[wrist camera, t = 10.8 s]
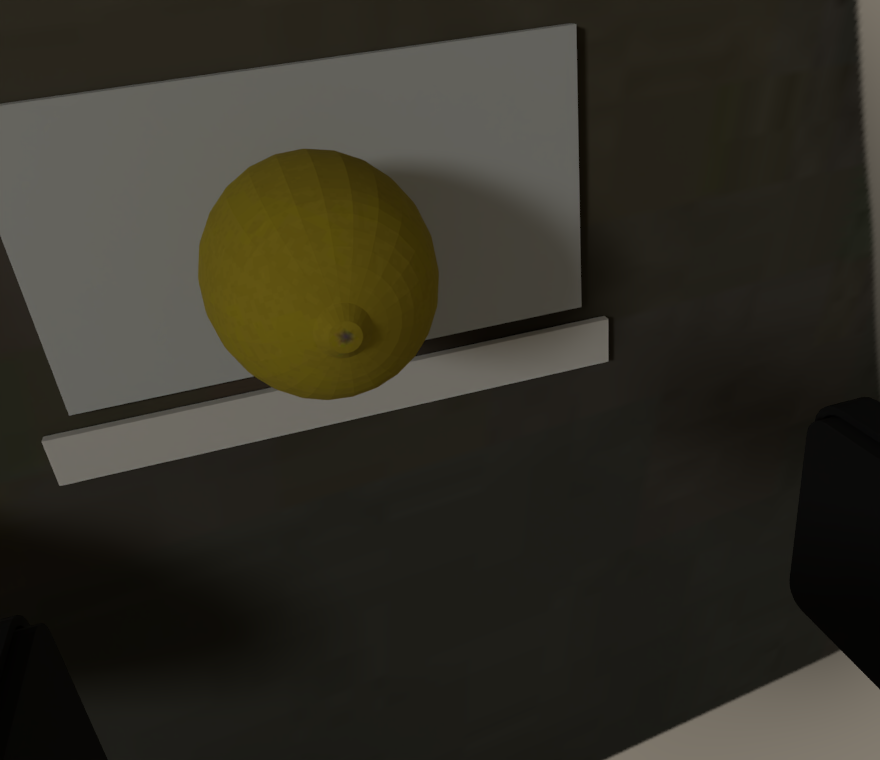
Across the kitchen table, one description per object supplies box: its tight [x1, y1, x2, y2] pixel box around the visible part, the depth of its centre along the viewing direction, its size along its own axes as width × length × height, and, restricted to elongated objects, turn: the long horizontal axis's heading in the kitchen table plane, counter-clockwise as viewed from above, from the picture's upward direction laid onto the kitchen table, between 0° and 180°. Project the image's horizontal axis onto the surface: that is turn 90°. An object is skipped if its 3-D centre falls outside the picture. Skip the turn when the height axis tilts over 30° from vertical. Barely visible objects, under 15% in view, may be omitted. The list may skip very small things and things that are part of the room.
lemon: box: [198, 149, 439, 400], centre depth 19 cm, size 6×6×8 cm
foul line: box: [42, 316, 608, 486], centre depth 26 cm, size 2×18×1 cm, turn 95°
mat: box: [0, 23, 582, 415], centre depth 23 cm, size 8×16×1 cm, turn 96°
